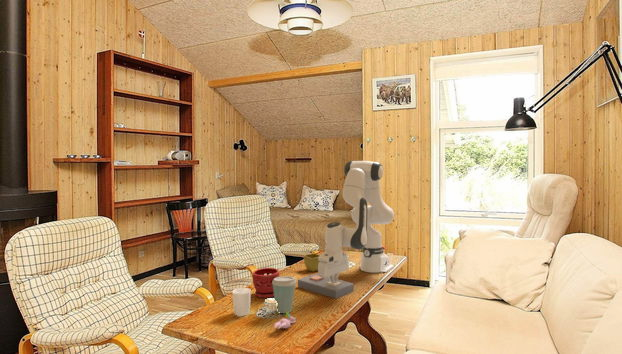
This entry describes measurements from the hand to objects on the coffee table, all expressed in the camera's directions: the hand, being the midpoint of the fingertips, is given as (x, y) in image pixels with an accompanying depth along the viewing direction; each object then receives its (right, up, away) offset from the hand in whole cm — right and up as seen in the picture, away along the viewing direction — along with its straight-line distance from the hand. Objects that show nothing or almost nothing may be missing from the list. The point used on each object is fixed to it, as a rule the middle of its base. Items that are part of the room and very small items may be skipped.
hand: (334, 282), depth 190 cm
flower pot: (-10, -4, +39) cm, 40 cm away
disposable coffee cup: (-23, -6, -25) cm, 34 cm away
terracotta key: (-9, -3, +8) cm, 12 cm away
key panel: (-4, -5, +4) cm, 8 cm away
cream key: (0, -3, 0) cm, 3 cm away
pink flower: (-22, -7, -41) cm, 47 cm away
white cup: (-42, -6, -26) cm, 50 cm away
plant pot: (-34, -6, -4) cm, 34 cm away
